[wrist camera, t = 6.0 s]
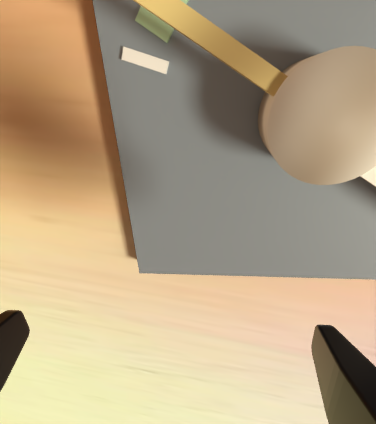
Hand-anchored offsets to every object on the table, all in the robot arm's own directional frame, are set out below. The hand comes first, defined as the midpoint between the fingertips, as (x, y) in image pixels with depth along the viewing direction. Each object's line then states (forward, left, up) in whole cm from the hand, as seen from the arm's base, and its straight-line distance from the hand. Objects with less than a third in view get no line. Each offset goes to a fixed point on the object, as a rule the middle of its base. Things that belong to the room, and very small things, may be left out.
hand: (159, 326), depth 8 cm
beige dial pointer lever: (-6, -5, -7) cm, 10 cm away
